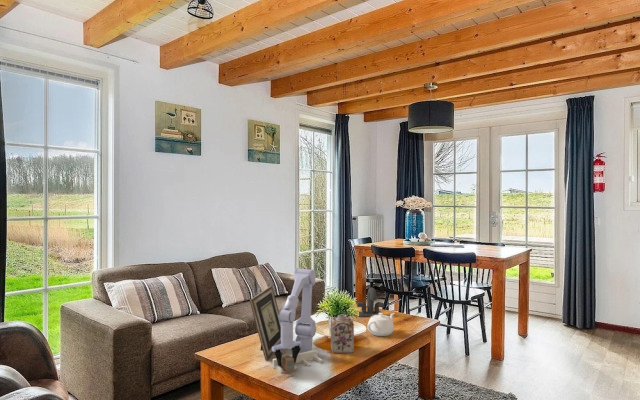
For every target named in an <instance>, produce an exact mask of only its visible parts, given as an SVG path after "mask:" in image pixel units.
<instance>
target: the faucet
mask: <svg viewBox="0 0 640 400" xmlns="http://www.w3.org/2000/svg"><path fill="white" fill-rule="evenodd" d="M366 296H367V299H366V302H367V303H365V302H363V301H357V302H356V307H357V308H361V311H358V312H359V316H358V318H371V316H373V315H379V313H383V312H382V311H381V310H380V308H384V307H385V303H384V302H380V301H378V302H376V303H375V302H374V301H377V300H378V298H377V297H378V296H377V290H376V288H374V287H372V286H371V287H369V288H368V289H367V295H366ZM383 315H385V314H384V313H383Z"/></svg>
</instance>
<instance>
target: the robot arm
mask: <svg viewBox="0 0 640 400" xmlns="http://www.w3.org/2000/svg"><path fill="white" fill-rule="evenodd" d="M316 276H317V275H316V272H315V270H314V269H306V268H305V269H304V268H295V269H294V271H293V280H294V283H293V286H292V289H291V293H290V295H287V298H286V301H285V303H284V306H283V308H282V309H280V310H279V316H278V318H279V321H280V325H281V344H278V345H276V346H273V347H272V351H273V352H274V353H273V354H274V356H275V358H276V359H277V363H278V366H281V358H282V355H283V352H282V350H287V349H288V350H291V355H292V357H293V358H294V363H296V359H297V356H298V353H303V352H307V351H312V350H313V344H314V343H313V338H314V337H315V335H316V333H317V326H316V321H315V320H314V319H313V318H312V317H311V316H312V315H311V314H312V297H313V296H312V295H313V286H315V284H316ZM301 292H302V294H301V295H302V298H301V311H300V312H301V314H300V317H299V318H298V319H297V320H296V314H297V307H298V304H299V302H300V300H299V296H300V293H301ZM295 320H296V323H295V327H294V321H295ZM294 333H295V335H296V337H295V341H294ZM296 364H297V363H296Z"/></svg>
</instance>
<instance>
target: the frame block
mask: <svg viewBox="0 0 640 400" xmlns="http://www.w3.org/2000/svg"><path fill="white" fill-rule="evenodd" d="M290 355H291V354H288V353H287V354H284V355H283V354H282V358H281V366H280V367H281V368H282V369H283V373H284V372H285V373H286V374H287V373H292V372H294V371H295V370H294V358H293V357H291V356H290Z"/></svg>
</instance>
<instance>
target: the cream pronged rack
mask: <svg viewBox="0 0 640 400" xmlns="http://www.w3.org/2000/svg"><path fill="white" fill-rule="evenodd" d="M289 355H290V356H291V357H292V354H289ZM313 360H315V361H316V362H318V363H319V364H323V363H324V362H323V361H324V360H323V359H322V358H320V357H319V356H318V350H317V349H312V351H307V352H303V353H298V356H297V359H296V363H294V371H295V370H297V369H298V366H297V364H300V363H301V364H303V365H305V366H307V367H310V366H311V363H310V362H309V361H313ZM271 368H273V369H275V370H276V371H278V372H279V373H280V374H282V373H284V371H283V369H282V368H281V367H280V366H278V363H277V359H276V357H275V358H273V359H272V367H271Z"/></svg>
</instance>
